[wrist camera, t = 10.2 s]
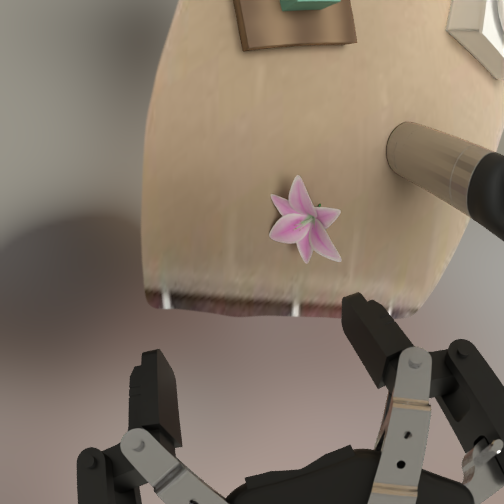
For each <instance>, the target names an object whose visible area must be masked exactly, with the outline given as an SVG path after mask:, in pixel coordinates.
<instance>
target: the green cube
mask: <svg viewBox="0 0 504 504" xmlns="http://www.w3.org/2000/svg"><path fill="white" fill-rule="evenodd" d="M338 2H341V0H280V4H281V8H282V11H296V10H322V9H324V8H326V7H328V6H331V5H333V4H336V3H338Z"/></svg>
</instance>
